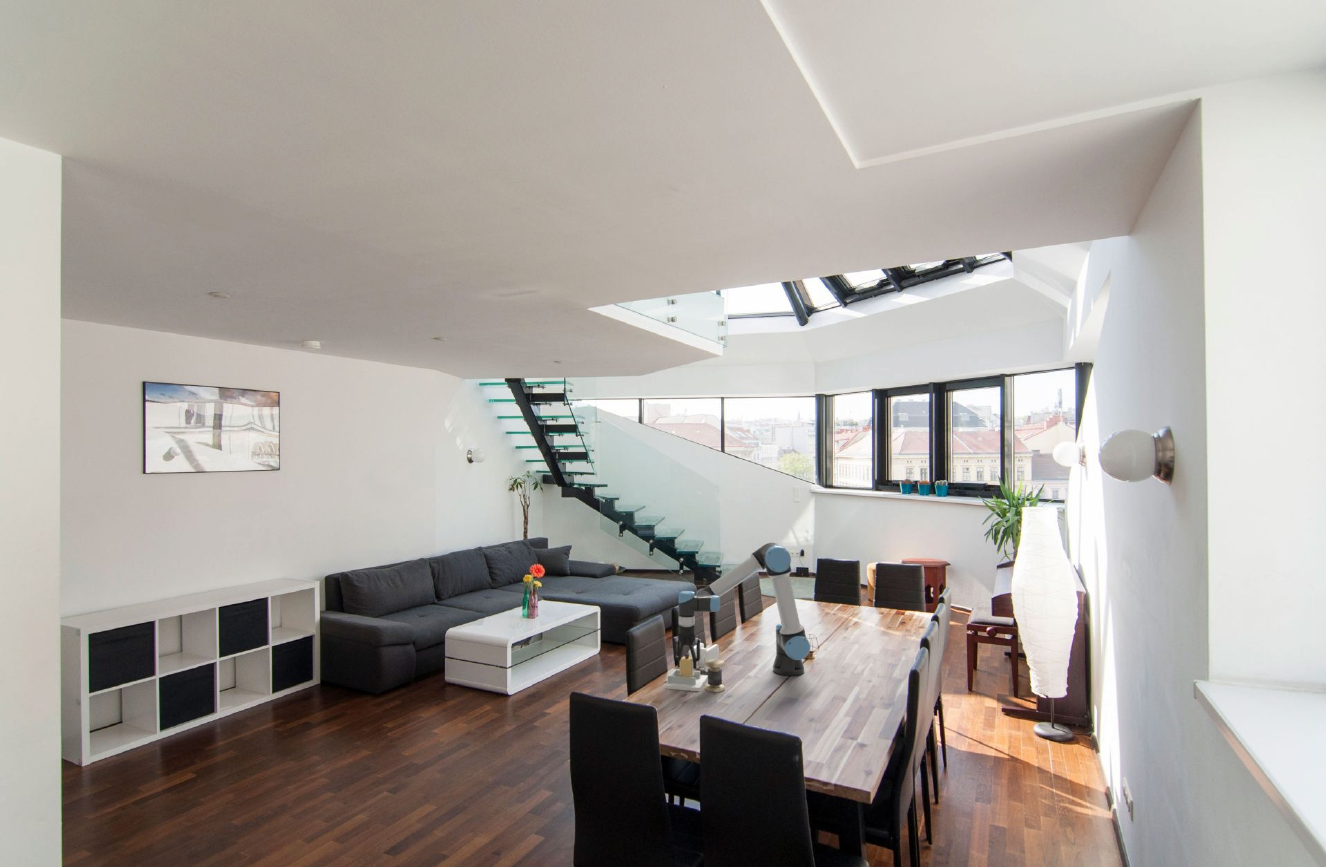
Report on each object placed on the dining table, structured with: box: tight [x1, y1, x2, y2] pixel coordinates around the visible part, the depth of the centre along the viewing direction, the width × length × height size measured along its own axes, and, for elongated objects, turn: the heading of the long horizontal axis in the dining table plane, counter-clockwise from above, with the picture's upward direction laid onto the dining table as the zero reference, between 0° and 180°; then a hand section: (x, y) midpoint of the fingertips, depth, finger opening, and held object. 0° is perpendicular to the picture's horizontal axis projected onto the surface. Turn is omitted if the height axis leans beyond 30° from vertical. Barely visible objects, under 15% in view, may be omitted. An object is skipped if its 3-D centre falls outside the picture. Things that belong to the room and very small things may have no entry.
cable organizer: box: [688, 642, 720, 673], centre depth 334 cm, size 15×11×12 cm
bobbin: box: [704, 659, 726, 693], centre depth 306 cm, size 9×9×12 cm
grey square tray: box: [665, 668, 708, 692], centre depth 314 cm, size 16×18×4 cm
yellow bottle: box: [681, 652, 693, 677], centre depth 314 cm, size 5×5×10 cm
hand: (687, 674), depth 314 cm, fingers closed on yellow bottle, 5 cm apart
